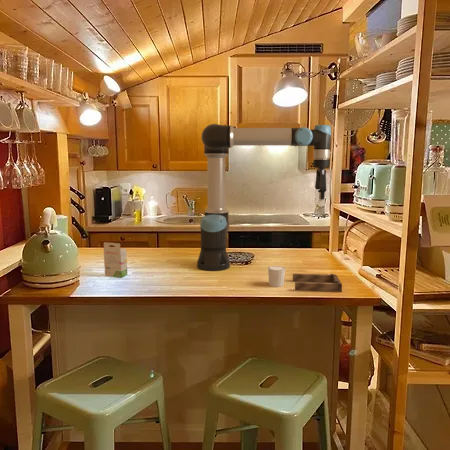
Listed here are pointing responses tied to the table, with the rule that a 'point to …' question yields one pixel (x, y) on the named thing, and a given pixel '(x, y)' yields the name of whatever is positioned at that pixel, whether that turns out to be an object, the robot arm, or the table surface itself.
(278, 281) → the white cup
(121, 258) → the ink box
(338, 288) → the tray
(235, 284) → the table surface
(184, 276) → the table surface
